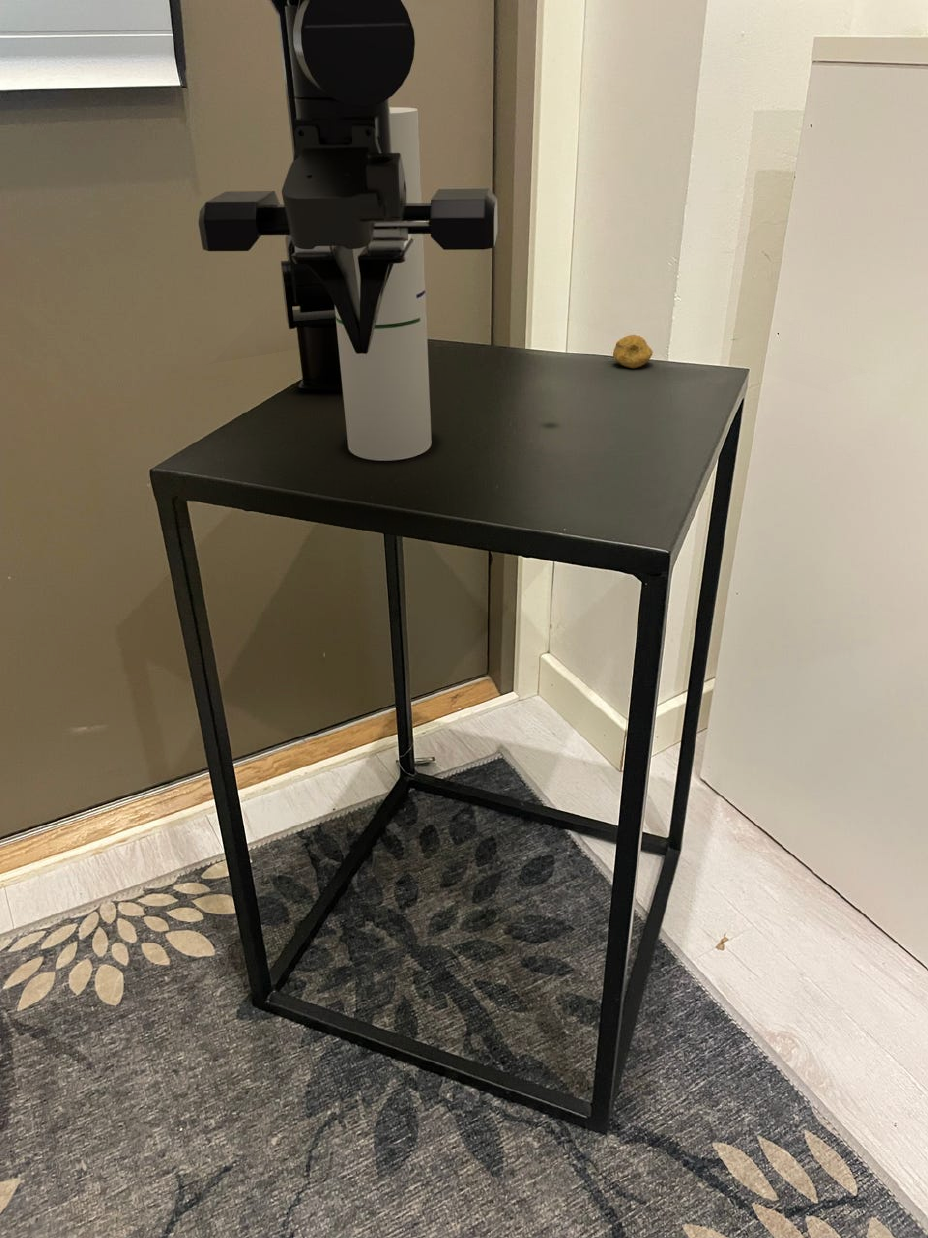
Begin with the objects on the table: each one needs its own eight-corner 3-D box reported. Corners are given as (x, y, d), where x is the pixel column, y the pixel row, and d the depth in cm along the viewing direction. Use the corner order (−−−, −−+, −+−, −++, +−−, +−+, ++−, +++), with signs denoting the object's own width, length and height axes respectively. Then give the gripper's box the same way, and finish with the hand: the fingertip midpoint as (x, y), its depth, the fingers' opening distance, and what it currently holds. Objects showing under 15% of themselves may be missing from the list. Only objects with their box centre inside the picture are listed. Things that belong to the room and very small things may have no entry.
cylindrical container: (443, 433, 80) (432, 106, 67) (413, 464, 75) (394, 114, 61) (368, 425, 82) (343, 106, 69) (333, 455, 77) (298, 114, 63)
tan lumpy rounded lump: (606, 364, 96) (608, 337, 94) (634, 357, 98) (636, 329, 96) (630, 372, 93) (632, 344, 92) (658, 364, 95) (661, 337, 94)
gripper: (144, 109, 50) (195, 390, 58) (488, 103, 48) (490, 391, 57) (207, 95, 59) (244, 339, 68) (497, 89, 58) (498, 339, 66)
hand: (362, 352), depth 64 cm, fingers closed
